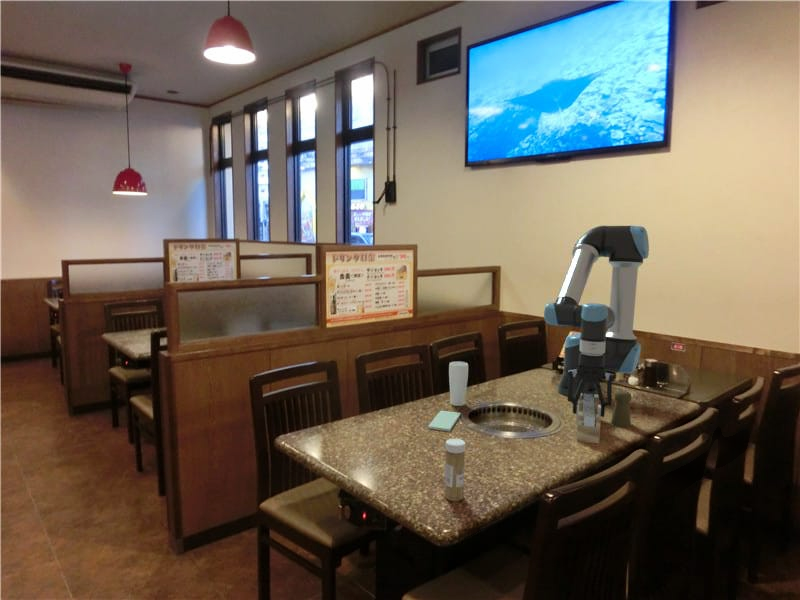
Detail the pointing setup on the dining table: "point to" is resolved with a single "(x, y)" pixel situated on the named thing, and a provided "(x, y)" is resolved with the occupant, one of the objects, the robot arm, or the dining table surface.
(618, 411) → the olive round-headed peg
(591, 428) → the hook stands
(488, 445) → the dining table surface
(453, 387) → the drinking glass
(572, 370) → the robot arm
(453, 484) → the sprinkles bottle
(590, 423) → the steel rail
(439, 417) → the sage board
